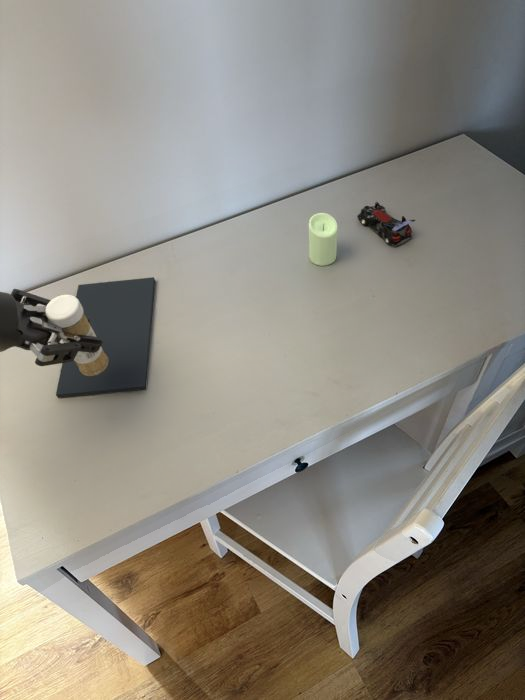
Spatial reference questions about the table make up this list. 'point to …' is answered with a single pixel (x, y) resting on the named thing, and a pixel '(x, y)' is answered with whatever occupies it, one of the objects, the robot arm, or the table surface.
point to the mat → (114, 337)
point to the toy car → (385, 224)
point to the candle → (322, 239)
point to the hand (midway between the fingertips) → (92, 334)
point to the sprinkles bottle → (76, 331)
